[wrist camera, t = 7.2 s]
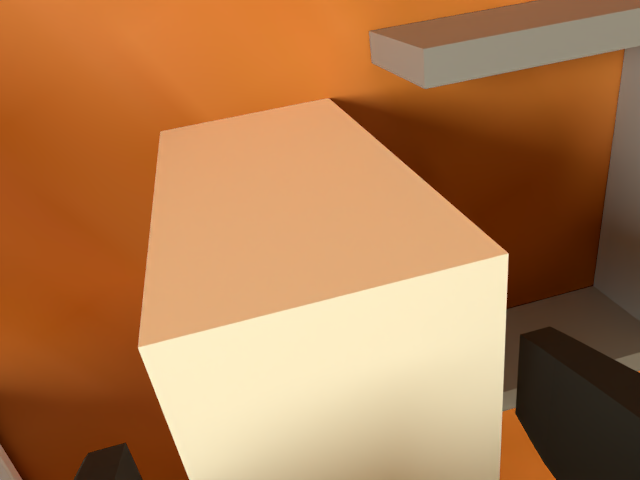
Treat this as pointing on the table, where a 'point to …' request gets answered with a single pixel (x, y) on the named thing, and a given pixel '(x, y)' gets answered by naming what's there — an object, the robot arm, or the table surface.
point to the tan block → (318, 307)
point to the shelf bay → (626, 155)
